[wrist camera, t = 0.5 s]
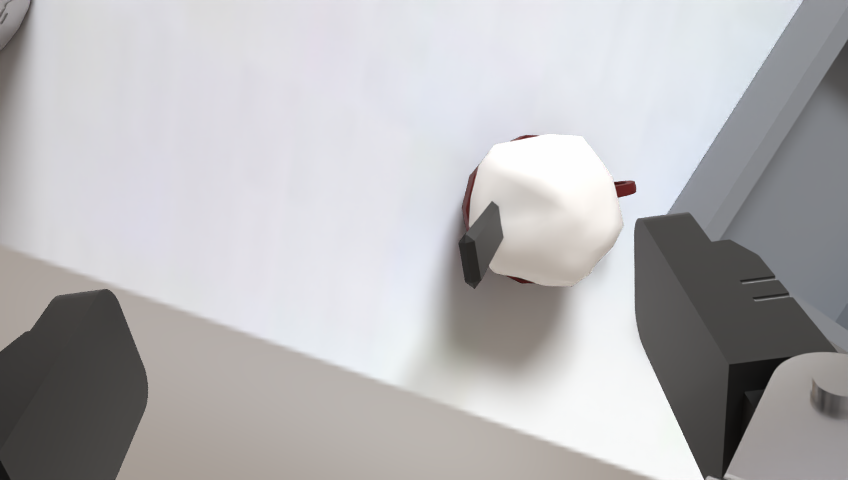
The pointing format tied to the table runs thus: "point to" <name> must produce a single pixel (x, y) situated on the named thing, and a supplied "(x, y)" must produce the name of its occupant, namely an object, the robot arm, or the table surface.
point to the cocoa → (540, 211)
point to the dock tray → (788, 167)
